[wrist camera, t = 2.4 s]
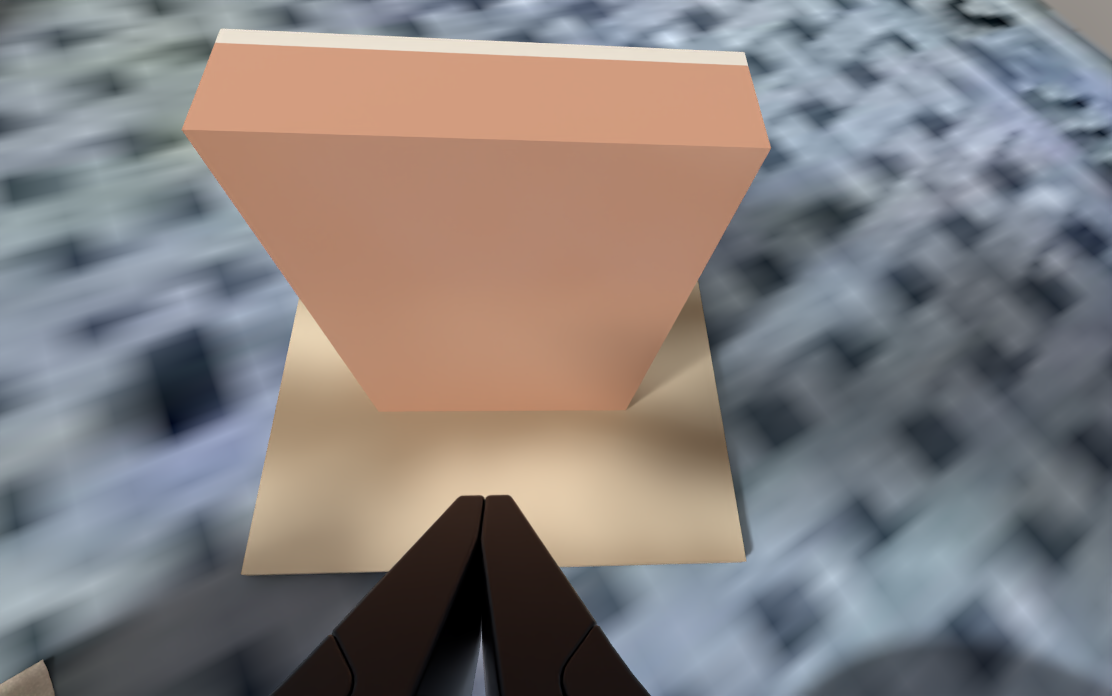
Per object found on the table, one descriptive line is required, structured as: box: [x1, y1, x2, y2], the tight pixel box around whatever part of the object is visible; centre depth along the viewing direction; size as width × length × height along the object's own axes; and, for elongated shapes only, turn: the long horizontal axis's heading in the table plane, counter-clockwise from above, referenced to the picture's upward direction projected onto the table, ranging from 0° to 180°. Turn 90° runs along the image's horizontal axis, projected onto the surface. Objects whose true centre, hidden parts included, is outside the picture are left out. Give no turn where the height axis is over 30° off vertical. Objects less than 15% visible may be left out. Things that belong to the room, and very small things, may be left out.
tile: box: [182, 29, 771, 412], centre depth 16 cm, size 3×10×14 cm, turn 92°
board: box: [241, 281, 746, 576], centre depth 25 cm, size 24×18×1 cm
